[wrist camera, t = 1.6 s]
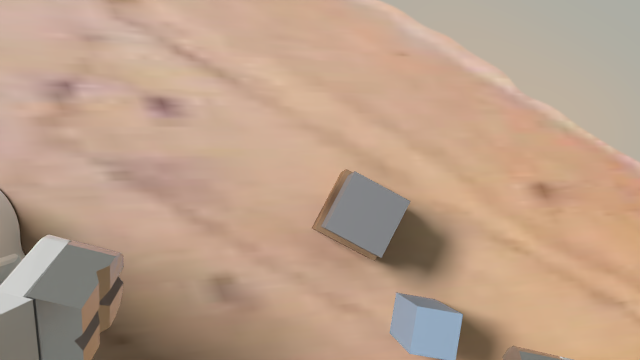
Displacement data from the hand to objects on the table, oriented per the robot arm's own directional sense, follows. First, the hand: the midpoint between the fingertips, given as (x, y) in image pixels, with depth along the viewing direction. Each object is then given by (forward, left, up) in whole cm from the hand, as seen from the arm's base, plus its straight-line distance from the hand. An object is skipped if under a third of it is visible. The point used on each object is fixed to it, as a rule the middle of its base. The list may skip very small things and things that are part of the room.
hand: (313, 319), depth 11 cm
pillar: (-2, -17, -49) cm, 52 cm away
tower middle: (+6, -6, -44) cm, 45 cm away
